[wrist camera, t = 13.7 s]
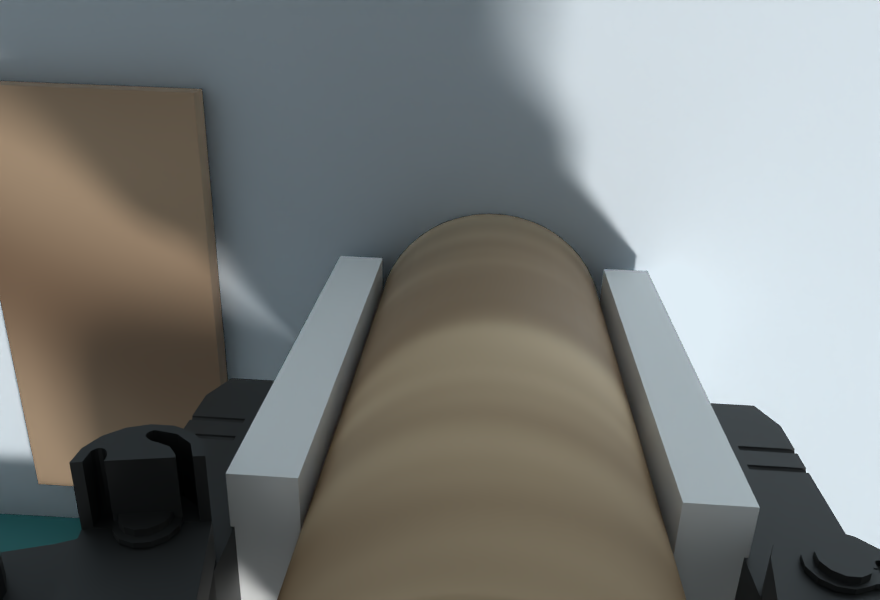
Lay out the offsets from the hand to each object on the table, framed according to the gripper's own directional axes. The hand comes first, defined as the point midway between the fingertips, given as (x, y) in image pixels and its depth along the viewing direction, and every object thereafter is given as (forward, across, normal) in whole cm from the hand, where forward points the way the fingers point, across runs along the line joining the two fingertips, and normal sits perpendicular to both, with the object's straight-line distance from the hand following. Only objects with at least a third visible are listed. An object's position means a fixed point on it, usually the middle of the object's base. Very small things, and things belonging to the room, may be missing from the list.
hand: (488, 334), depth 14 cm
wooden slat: (0, -7, -10) cm, 12 cm away
